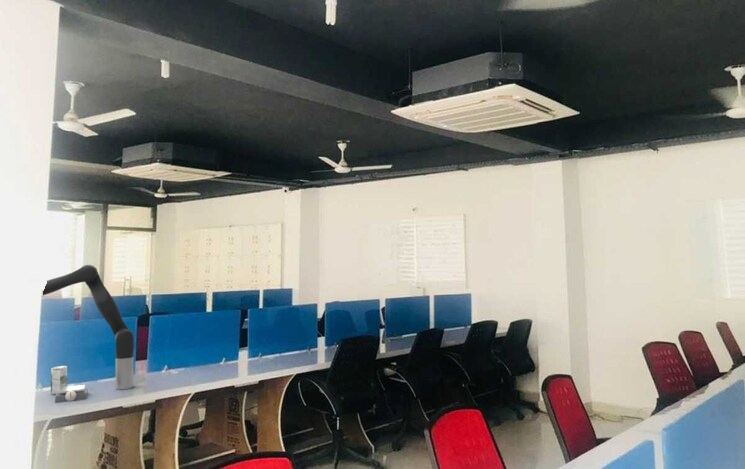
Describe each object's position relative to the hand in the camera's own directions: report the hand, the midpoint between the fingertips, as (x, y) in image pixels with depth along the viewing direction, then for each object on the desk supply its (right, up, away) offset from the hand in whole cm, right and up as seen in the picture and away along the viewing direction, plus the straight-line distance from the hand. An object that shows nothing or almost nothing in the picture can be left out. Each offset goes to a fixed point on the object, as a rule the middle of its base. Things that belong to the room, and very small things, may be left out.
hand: (22, 356), depth 285 cm
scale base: (+25, -23, +2) cm, 34 cm away
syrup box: (+11, -24, +14) cm, 30 cm away
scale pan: (+25, -19, +3) cm, 31 cm away
